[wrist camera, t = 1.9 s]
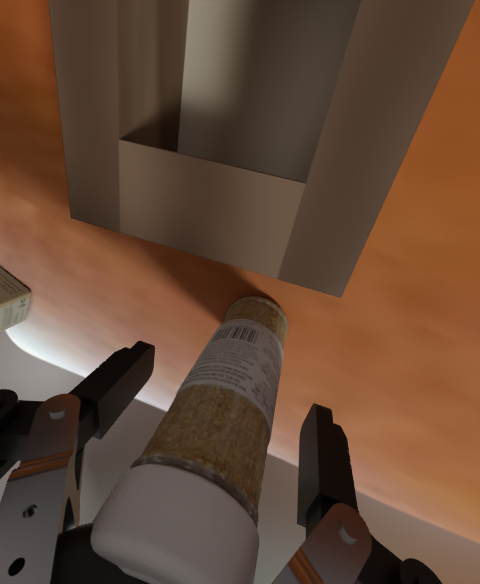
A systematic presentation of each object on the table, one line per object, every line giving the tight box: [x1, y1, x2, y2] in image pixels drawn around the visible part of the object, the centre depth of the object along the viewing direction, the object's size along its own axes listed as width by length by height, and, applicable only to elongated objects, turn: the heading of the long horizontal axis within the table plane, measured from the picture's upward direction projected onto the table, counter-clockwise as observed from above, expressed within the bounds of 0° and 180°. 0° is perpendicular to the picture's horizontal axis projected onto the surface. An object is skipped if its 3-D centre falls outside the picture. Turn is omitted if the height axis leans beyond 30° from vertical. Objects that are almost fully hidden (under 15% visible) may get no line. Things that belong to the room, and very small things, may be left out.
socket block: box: [48, 0, 475, 298], centre depth 10 cm, size 12×14×6 cm
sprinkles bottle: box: [91, 296, 288, 584], centre depth 12 cm, size 5×5×13 cm
